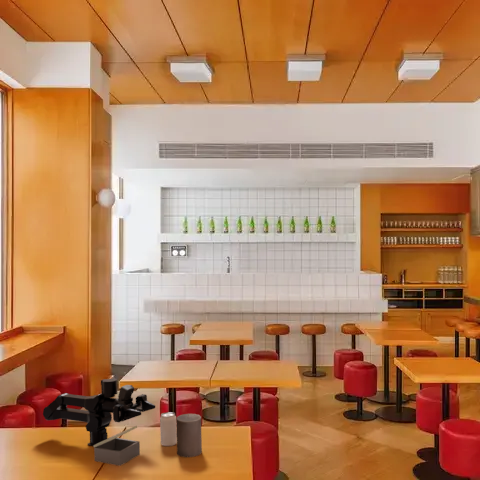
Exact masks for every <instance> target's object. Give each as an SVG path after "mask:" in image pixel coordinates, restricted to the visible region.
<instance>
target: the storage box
mask: <svg viewBox="0 0 480 480" xmlns="http://www.w3.org/2000/svg"><path fill="white" fill-rule="evenodd" d="M140 446H141V445H140V441H139V440H132V439H127V438H120V437H117V438H115V439H113V440H111V441H108V442H106V443H104V444H101V445H99V446H97V447H93V448H94V451H93V452H94V462H99V463H104V464H109V465H112V466H118V467H120V466H123V465H125V464H126V463H128V462H130V461H131V460H133V459H135V458H136V457H138V456H139V455H141V453H140V451H141V450H140V448H141V447H140Z"/></svg>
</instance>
